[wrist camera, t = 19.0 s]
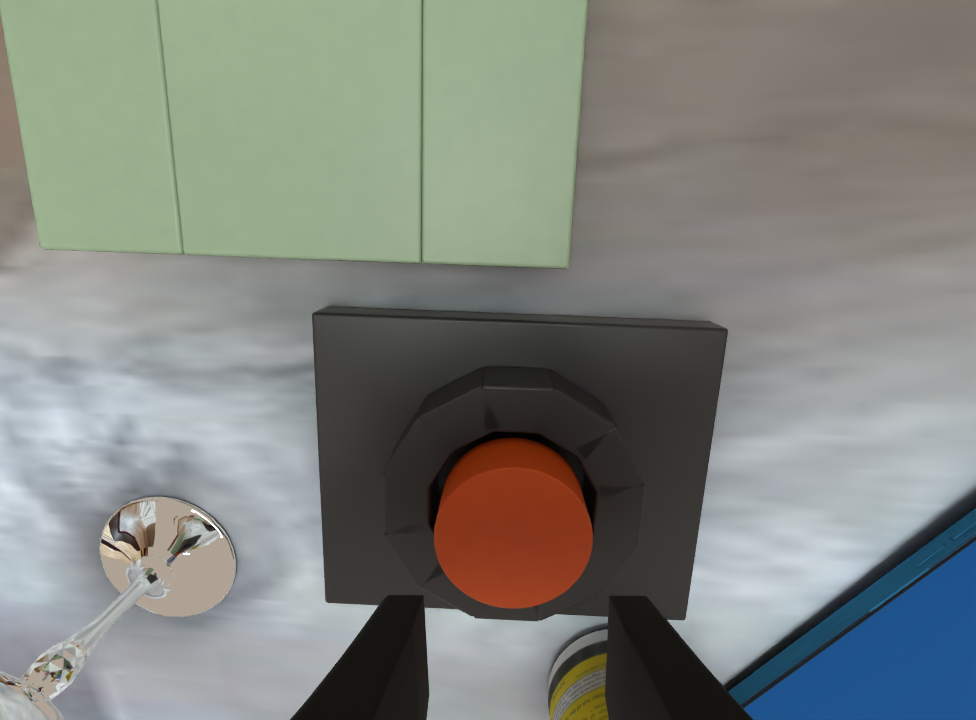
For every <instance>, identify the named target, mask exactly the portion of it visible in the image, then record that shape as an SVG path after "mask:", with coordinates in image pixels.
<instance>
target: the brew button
mask: <svg viewBox="0 0 976 720" xmlns="http://www.w3.org/2000/svg"><path fill="white" fill-rule="evenodd" d="M592 545H593V531H592V524H591V521H590V517H589V514H588V511H587V507H586V504H585V501H584V497H583V494H582V491H581V487H580V484H579V481H578V479H577V476H576V474H575V472H574V471H573V469H572V468H571V466H570V465H569V464H568V463H567V461H566V460H565V459H564V458H563V457H562V456H561V455H559V454H558V453H557V452H555V451H554V450H553V449H551V448H549V447H547V446H545V445H543V444H541V443H538V442H536V441H532V440H528V439H523V438H501V439H495V440H491V441H488V442H485V443H483V444H480V445H478V446H476V447H474V448H473V449H471V450H470V451H468V452H467V453H466V454H464V455H463V456H462V457H461V458H460V459H459V460H458V461H457V462H456V464H455V465H454V466H453V467H452V469H451V471H450V472H449V474H448V476H447V479H446V481H445V484H444V488H443V492H442V497H441V501H440V505H439V510H438V514H437V518H436V523H435V527H434V546H435V551H436V555H437V558H438V561H439V563H440V565H441V567H442V569H443V571H444V573H445V574H446V575H447V577H448V578H449V580H450V581H451V582H452V583H453V584H454V585H455V586H456V587H457V588H458V589H460V590H461V591H462V592H463V593H465V594H466V595H468V596H470V597H471V598H473V599H475V600H477V601H479V602H482V603H485V604H488V605H491V606H495V607H500V608H527V607H532V606H537V605H540V604H543V603H546V602H548V601H550V600H552V599H554V598H556V597H558V596H560V595H561V594H563V593H564V592H565V591H567V590H568V589H569V588H570V587H571V586H572V585H573V584H574V583H575V582H576V581H577V580H578V579H579V577H580V576H581V574H582V573H583V571H584V569H585V567H586V565H587V563H588V561H589V558H590V555H591V551H592Z"/></svg>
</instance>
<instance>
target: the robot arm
mask: <svg viewBox="0 0 976 720" xmlns="http://www.w3.org/2000/svg"><path fill="white" fill-rule="evenodd" d="M605 699H606V706H607V712H608V718H609V720H754V719H753V718H752V717H751V716H750V715H749V714H748V713H747V712H746V711H745V710H744V709H743V708H742V706H741V705H740V704H739V703H738V702H737V701H736V700H735V699H734V698H733V697H732V695H731V694H730V693H729V692H728V691H727V690H726V689H725V688H724V687H723V685H722V684H721V683H720V682H719V681H718V680H717V679H716V678H715V677H714V675H713V674H712V673H711V672H710V671H709V670H708V669H707V667H706V666H705V665H704V664H703V663H702V662H701V660H700V659H699V658H698V657H697V656H696V655H695V653H694V652H693V651H692V650H691V649H690V647H689V646H688V645H687V644H686V643H685V642H684V640H683V639H682V638H681V637H680V636H679V634H678V633H677V632H676V631H675V629H674V628H673V627H672V626H671V625H670V623H669V622H668V621H667V620H666V618H665V617H664V616H663V615H662V613H661V612H660V611H659V610H658V609H657V607H656V606H655V605H654V604H653V602H652V601H651V600H650V599H649V598H648V597H647V596H609V614H608V637H607V660H606V682H605ZM428 700H429V682H428V664H427V646H426V628H425V609H424V595H388V596H386V597H385V598H384V599H383V600H382V601H381V603H380V604H379V606H378V607H377V609H376V610H375V611H374V613H373V614H372V616H371V617H370V619H369V620H368V621H367V623H366V624H365V626H364V627H363V628H362V630H361V631H360V633H359V634H358V635H357V637H356V638H355V639H354V641H353V642H352V643H351V645H350V646H349V647H348V649H347V650H346V651H345V653H344V654H343V655H342V657H341V658H340V659H339V661H338V662H337V663H336V664H335V666H334V667H333V668H332V669H331V671H330V672H329V673H328V674H327V676H326V677H325V678H324V679H323V681H322V682H321V683H320V684H319V686H318V687H317V688H316V690H315V691H314V692H313V693H312V695H311V696H310V697H309V698H308V699H307V701H306V702H305V703H304V704H303V705H302V707H301V708H300V709H299V710H298V711H297V712H296V714H295V715H294V716H293V717H292V718H291V719H290V720H426V718H427V709H428Z"/></svg>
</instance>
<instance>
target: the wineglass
mask: <svg viewBox="0 0 976 720" xmlns="http://www.w3.org/2000/svg"><path fill="white" fill-rule="evenodd" d="M99 552H100V559H101V563H102V566H103V569H104V571H105V573H106V575H107V577H108V579H109V580H110V582H111V583H112V585H113V586H114V587H115V588H116V590H117V591H118V592H119V593H120V595H119V596H118V597H117V598H116V599H115V600H114V601H113V602H112V603H111V604H110V605H109V606H108V607H107V608H106V609H105V610H104V611H103V612H102V613H101V614H100V615H99V616H98V617H97V618H95V619H94V620H93V621H92V622H91V623H89V624H88V625H87V626H86V627H85V628H83V629H82V630H80V631H79V632H77V633H76V634H74V635H73V636H71V637H70V638H68V639H66V640H65V641H63V642H61V643H58V644H55V645H54V646H53V647H51V648H50V649H49V650H47V651H46V652H44V653H43V654H41V655H40V656H39V657H38V658H37V659H36V661H35V662H34V663H33V664H32V665H31V666H30V668H29V669H28V670H27V671H26V672H25V673H24V674H23V676H22V677H21V679H19V678H18V677H15V676H12V675H10V674H7V673H5V672H2V671H0V720H65V719H64V717H63V716H62V714H61V713H60V711H59V710H58V709H57V708H56V707H55V705H54V704H53V703H52V702H51V701H50V700H52V699H53V698H55V697H56V696H57V695H59V694H60V693H61V692H62V691H63V690H65V689H66V688H67V687H68V686H69V685H70V684H71V683H72V682H73V681H74V679H75V677H76V676H77V674H78V673H79V671H80V670H81V669H82V668H83V666H84V665H85V663H86V660H87V657H88V656H89V655H90V653H91V652H92V650H93V649H94V648H95V646H96V645H97V643H98V642H99V640H100V639H101V638H102V636H103V635H104V634H105V633H106V632H107V631H108V630H109V628H110V627H111V626H112V625H113V624H114V623H115V622H116V621H117V620H118V619H119V618H120V617H121V616H122V615H123V614H124V613H125V612H126V611H127V610H128V609H129V608H130V607H131V606H132V605H133V604H134V605H136V606H138V607H139V608H141V609H144V610H146V611H148V612H151V613H154V614H157V615H161V616H167V617H189V616H194V615H198V614H201V613H204V612H206V611H208V610H210V609H212V608H213V607H214V606H216V605H217V604H218V603H220V602H221V601H222V600H223V599H224V597H225V596H226V595H227V594H228V592H229V591H230V589H231V587H232V584H233V582H234V579H235V574H236V558H235V553H234V549H233V547H232V544H231V542H230V540H229V538H228V536H227V534H226V533H225V531H224V530H223V529H222V527H221V526H220V525H219V524H218V523H217V522H216V521H215V520H214V519H213V518H212V517H211V516H210V515H208V514H207V513H206V512H204V511H203V510H201V509H200V508H198V507H196V506H194V505H192V504H190V503H187V502H185V501H182V500H179V499H175V498H169V497H145V498H141V499H137V500H134V501H132V502H129V503H127V504H125V505H123V506H122V507H121V508H119V509H118V510H117V511H116V512H115V513H113V514H112V516H111V517H110V518H109V520H108V521H107V523H106V524H105V526H104V528H103V531H102V534H101V537H100V544H99Z"/></svg>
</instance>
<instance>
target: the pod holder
mask: <svg viewBox="0 0 976 720" xmlns="http://www.w3.org/2000/svg"><path fill="white" fill-rule="evenodd" d="M587 10H588V0H0V15H1V21H2V27H3V33H4V39H5V45H6V50H7V56H8V62H9V68H10V74H11V80H12V86H13V92H14V98H15V104H16V110H17V116H18V122H19V127H20V133H21V139H22V145H23V151H24V157H25V163H26V169H27V175H28V181H29V187H30V193H31V199H32V205H33V210H34V216H35V222H36V228H37V234H38V240H39V246H40V247H41V248H43V249H45V250H71V251H97V252H124V253H151V254H178V255H182V254H187V255H204V256H231V257H258V258H284V259H311V260H338V261H365V262H392V263H420V262H423V263H425V264H446V265H473V266H500V267H527V268H554V269H566V268H568V267H569V262H570V248H571V234H572V220H573V206H574V192H575V178H576V164H577V150H578V136H579V122H580V108H581V94H582V80H583V66H584V52H585V38H586V24H587Z"/></svg>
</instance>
